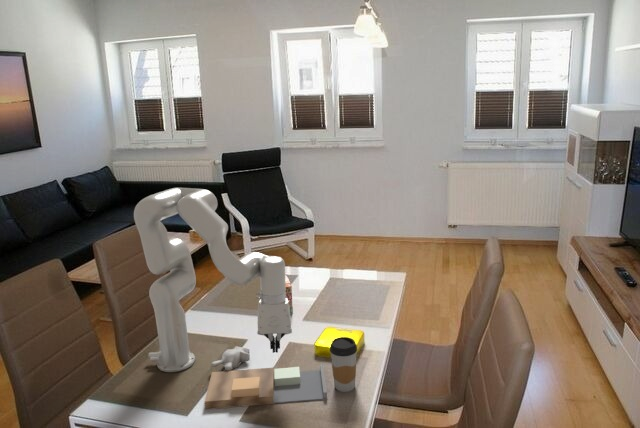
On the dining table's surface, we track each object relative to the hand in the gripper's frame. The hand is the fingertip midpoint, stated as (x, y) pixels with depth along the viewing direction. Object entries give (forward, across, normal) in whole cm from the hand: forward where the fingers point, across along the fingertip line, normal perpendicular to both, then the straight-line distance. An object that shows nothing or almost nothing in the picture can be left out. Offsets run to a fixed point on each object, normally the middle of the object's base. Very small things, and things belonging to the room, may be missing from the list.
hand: (275, 350), depth 163 cm
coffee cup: (+10, +21, -7) cm, 24 cm away
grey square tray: (+10, +7, -5) cm, 13 cm away
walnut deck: (+11, -11, -4) cm, 16 cm away
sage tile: (+10, +4, -1) cm, 11 cm away
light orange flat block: (+8, -9, -8) cm, 15 cm away
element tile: (+11, +22, +18) cm, 30 cm away
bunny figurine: (+12, -15, +12) cm, 22 cm away
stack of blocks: (+12, +2, +59) cm, 60 cm away
